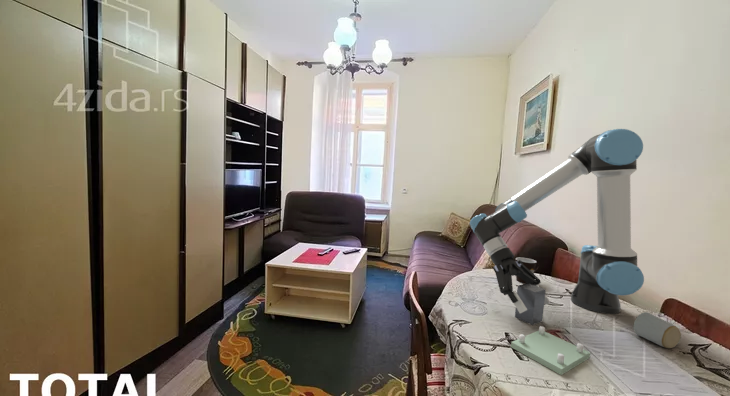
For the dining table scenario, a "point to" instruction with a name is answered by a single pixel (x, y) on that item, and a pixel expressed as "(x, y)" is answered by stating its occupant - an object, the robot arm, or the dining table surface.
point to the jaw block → (531, 303)
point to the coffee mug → (529, 264)
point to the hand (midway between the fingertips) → (535, 307)
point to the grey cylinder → (657, 330)
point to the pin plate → (551, 350)
